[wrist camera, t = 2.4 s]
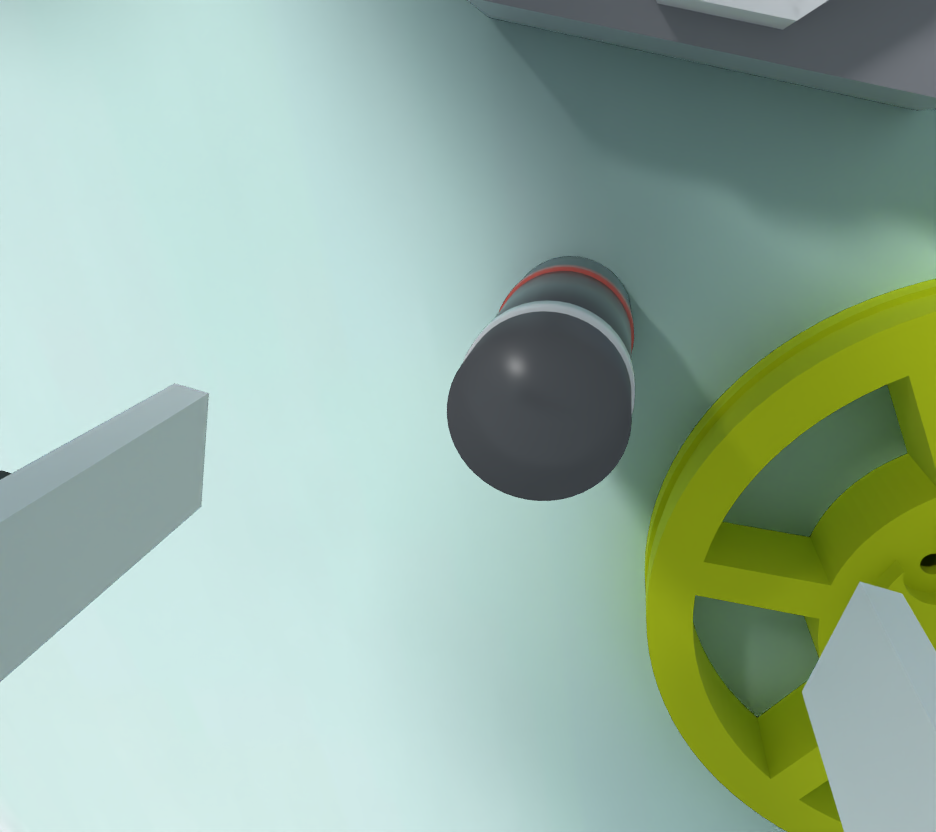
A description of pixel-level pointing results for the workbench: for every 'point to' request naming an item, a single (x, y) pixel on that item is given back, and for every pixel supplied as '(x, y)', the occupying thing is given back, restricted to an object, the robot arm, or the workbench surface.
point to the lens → (548, 384)
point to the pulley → (793, 540)
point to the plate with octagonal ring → (765, 38)
